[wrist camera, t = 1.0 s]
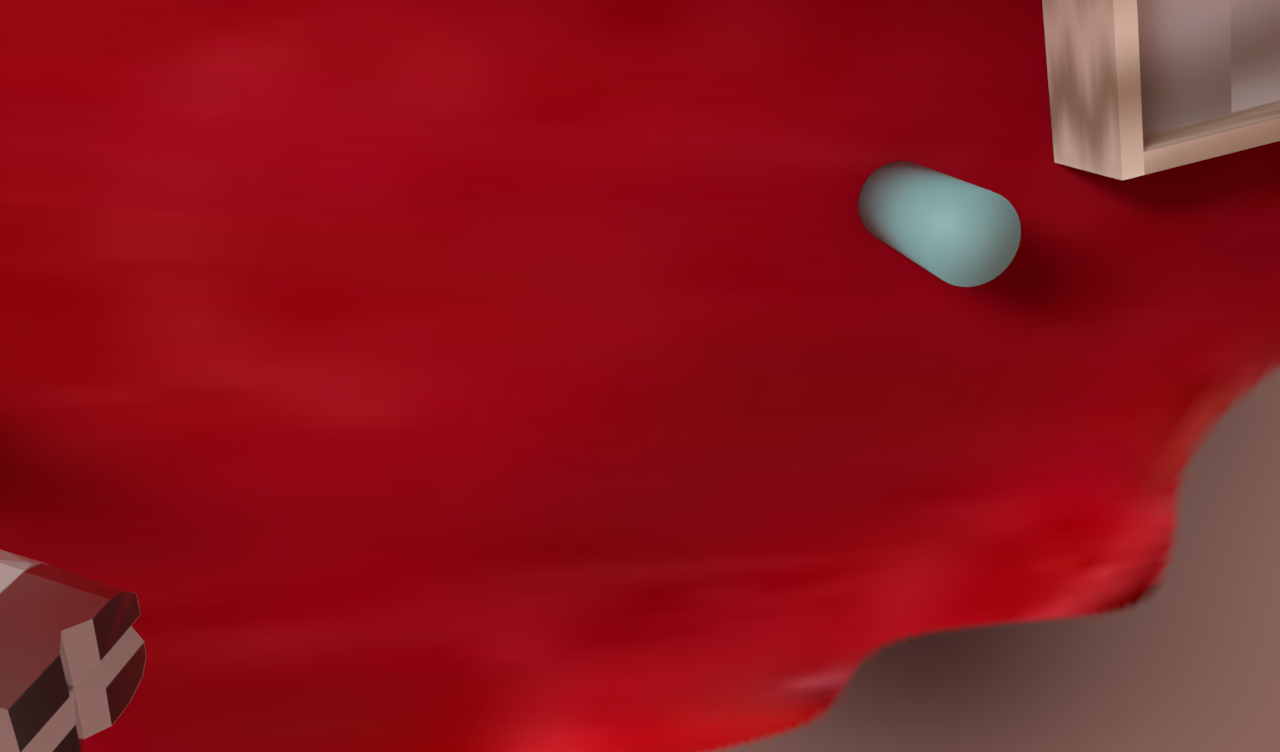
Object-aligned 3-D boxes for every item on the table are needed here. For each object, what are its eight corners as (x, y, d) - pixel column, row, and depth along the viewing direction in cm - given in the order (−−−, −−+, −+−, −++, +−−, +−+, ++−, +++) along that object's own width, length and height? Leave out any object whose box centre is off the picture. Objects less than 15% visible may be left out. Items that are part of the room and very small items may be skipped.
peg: (852, 172, 46) (919, 203, 38) (932, 151, 46) (1016, 179, 38) (864, 250, 48) (931, 297, 39) (941, 230, 48) (1024, 273, 39)
